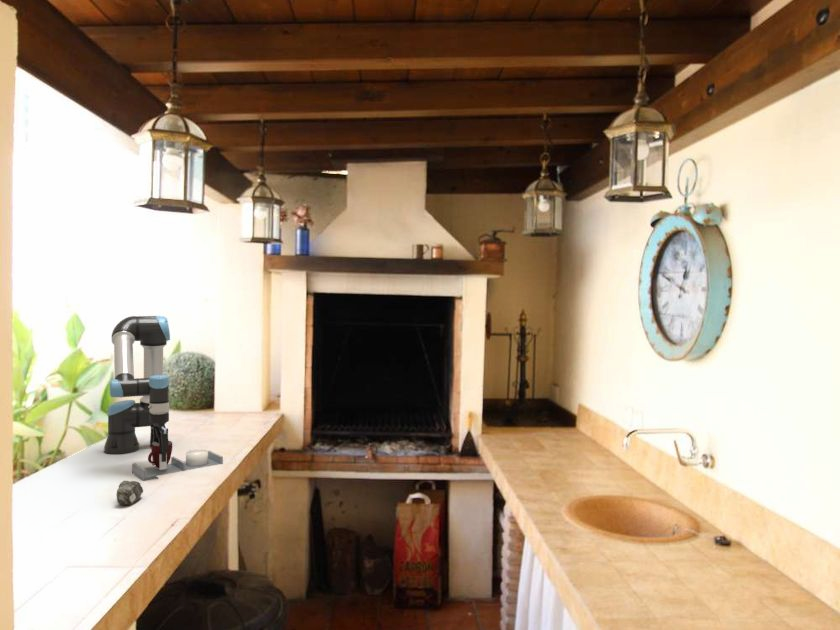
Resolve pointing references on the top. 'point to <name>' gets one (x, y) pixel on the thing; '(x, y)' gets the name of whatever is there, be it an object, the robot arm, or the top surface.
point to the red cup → (156, 451)
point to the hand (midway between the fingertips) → (159, 466)
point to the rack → (172, 467)
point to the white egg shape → (196, 457)
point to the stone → (128, 492)
